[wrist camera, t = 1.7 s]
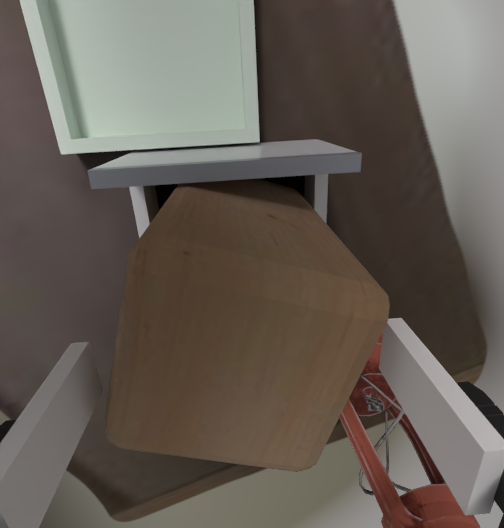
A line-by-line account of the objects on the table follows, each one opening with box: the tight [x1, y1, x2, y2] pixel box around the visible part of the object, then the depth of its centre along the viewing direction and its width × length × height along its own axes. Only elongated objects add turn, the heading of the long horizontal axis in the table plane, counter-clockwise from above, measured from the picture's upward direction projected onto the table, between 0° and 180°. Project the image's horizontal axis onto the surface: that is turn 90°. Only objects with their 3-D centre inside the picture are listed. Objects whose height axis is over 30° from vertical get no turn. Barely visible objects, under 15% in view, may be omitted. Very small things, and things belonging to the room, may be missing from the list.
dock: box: [87, 139, 362, 238], centre depth 26 cm, size 14×15×11 cm
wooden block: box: [104, 178, 390, 472], centre depth 22 cm, size 10×10×20 cm
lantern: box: [339, 331, 480, 528], centre depth 25 cm, size 10×10×30 cm
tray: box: [20, 0, 260, 154], centre depth 24 cm, size 15×15×2 cm
